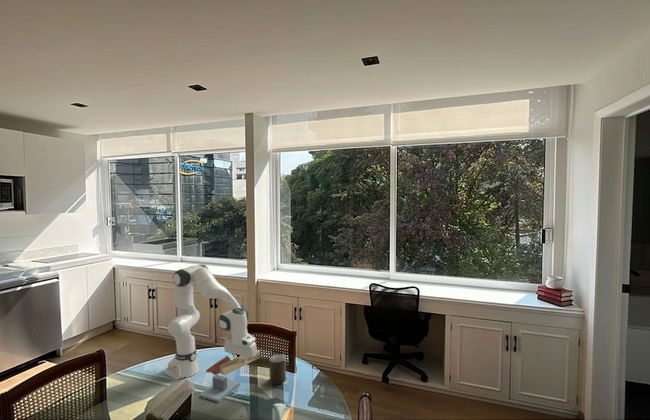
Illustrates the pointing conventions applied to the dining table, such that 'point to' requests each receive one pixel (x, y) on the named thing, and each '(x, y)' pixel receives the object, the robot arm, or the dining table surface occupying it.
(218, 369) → the wooden tablet
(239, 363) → the oak rod
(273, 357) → the pillar candle
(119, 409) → the dining table surface
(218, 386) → the ridge stand
